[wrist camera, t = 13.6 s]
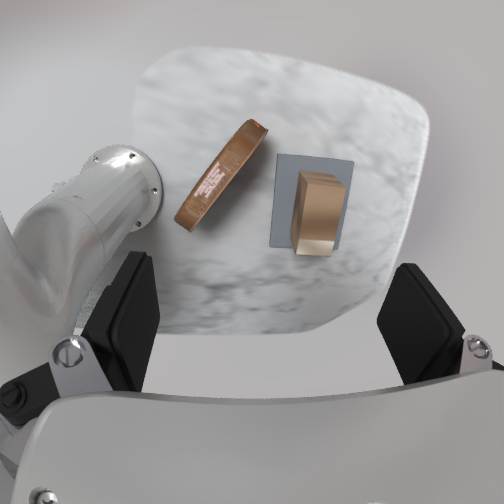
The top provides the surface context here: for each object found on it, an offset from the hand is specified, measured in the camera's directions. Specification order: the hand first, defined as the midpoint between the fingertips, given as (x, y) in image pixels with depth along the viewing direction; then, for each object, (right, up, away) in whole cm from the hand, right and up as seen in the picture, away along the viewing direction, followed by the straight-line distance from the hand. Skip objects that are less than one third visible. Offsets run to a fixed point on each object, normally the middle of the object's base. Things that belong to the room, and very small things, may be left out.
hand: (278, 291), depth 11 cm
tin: (-5, +12, +25) cm, 29 cm away
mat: (+7, +8, +28) cm, 30 cm away
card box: (+7, +8, +27) cm, 29 cm away
